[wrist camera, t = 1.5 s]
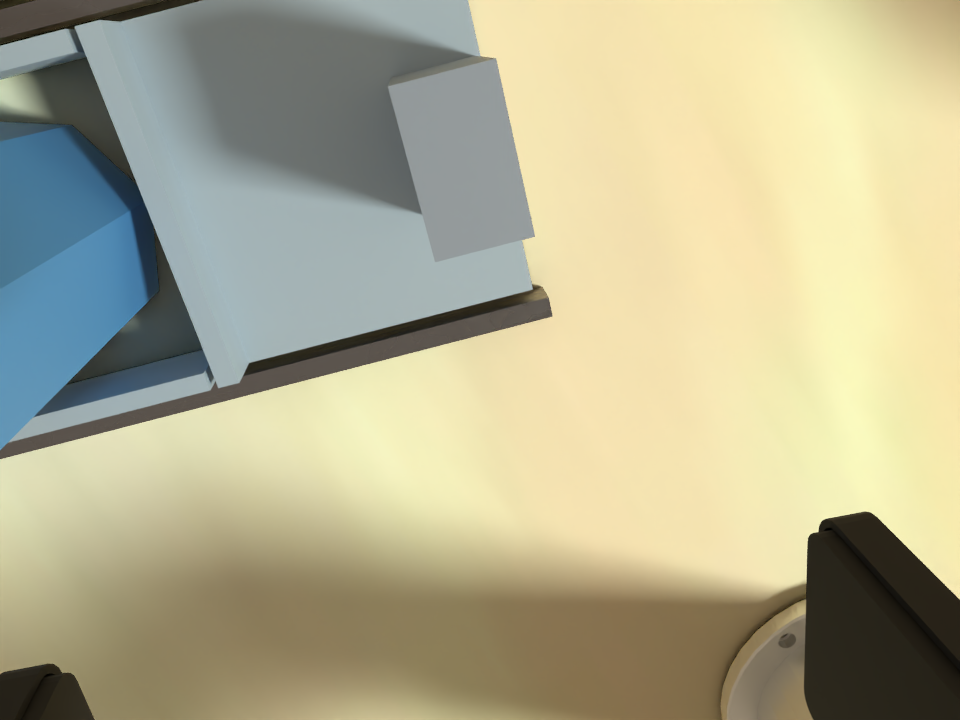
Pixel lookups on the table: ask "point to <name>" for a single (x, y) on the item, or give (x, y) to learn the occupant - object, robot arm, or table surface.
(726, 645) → the table surface
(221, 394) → the lane rails
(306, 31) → the pale blue tray
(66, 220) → the water bottle
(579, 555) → the table surface
